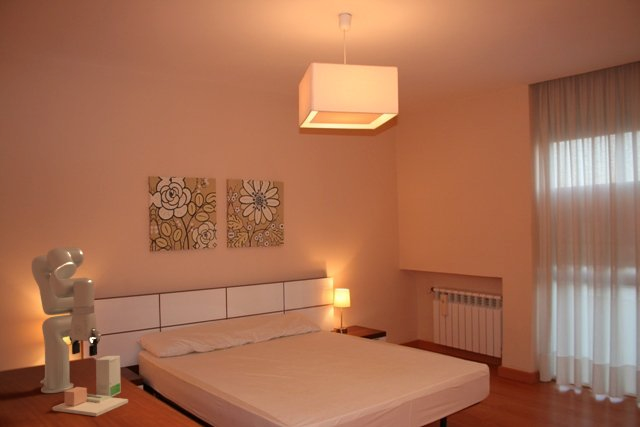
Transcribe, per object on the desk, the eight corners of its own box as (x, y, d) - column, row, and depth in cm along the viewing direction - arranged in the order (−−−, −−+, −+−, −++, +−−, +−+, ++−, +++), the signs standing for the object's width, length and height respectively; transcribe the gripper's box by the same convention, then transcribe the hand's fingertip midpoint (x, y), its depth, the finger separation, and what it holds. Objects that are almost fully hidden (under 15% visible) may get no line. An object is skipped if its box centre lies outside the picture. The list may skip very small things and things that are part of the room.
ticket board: (52, 410, 194) (52, 404, 194) (86, 397, 209) (86, 391, 209) (96, 416, 186) (96, 409, 186) (128, 402, 201) (128, 396, 201)
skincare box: (109, 398, 206) (108, 360, 207) (95, 398, 208) (94, 359, 208) (121, 392, 214) (121, 355, 215) (107, 391, 216) (107, 354, 216)
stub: (64, 404, 196) (64, 391, 196) (77, 399, 201) (77, 386, 201) (74, 405, 194) (74, 392, 194) (86, 400, 199) (86, 387, 200)
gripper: (60, 311, 200) (61, 355, 200) (91, 313, 193) (91, 358, 192) (77, 308, 207) (77, 350, 206) (107, 310, 200) (108, 354, 199)
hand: (84, 354), depth 199 cm, fingers open, 9 cm apart
